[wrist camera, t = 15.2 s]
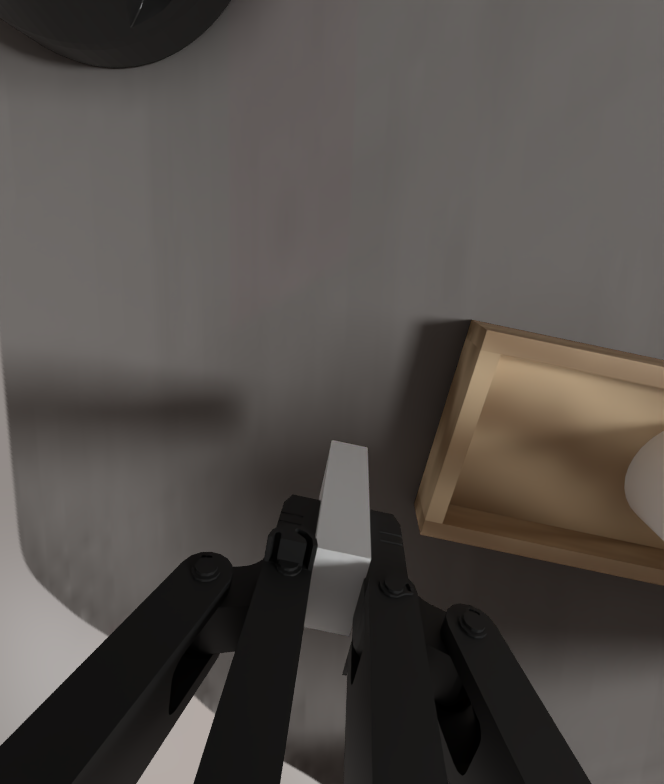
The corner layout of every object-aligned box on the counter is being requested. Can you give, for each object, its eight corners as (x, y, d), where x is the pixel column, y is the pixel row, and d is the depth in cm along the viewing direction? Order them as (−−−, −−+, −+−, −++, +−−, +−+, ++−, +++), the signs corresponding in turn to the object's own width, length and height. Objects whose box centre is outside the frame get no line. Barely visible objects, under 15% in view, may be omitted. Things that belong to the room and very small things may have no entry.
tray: (471, 319, 22) (487, 329, 20) (832, 395, 22) (900, 416, 20) (414, 503, 26) (420, 534, 24) (720, 568, 26) (763, 606, 24)
